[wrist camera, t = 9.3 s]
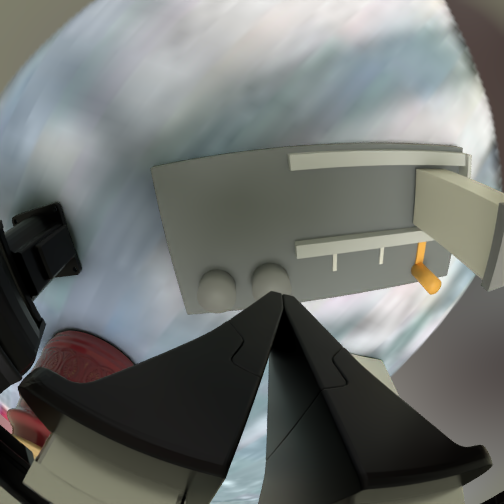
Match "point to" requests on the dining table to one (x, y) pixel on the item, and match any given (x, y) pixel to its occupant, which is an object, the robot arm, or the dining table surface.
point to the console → (300, 222)
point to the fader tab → (463, 221)
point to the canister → (70, 367)
